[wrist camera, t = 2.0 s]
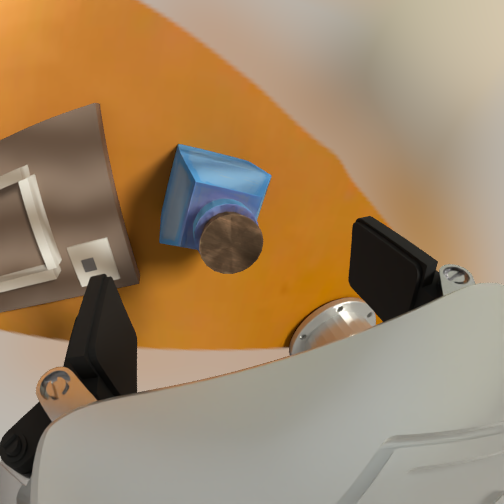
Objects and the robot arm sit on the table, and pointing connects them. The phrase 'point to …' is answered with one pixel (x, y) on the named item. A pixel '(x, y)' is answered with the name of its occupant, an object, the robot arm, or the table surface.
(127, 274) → the board
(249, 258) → the perfume bottle
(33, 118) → the table surface
